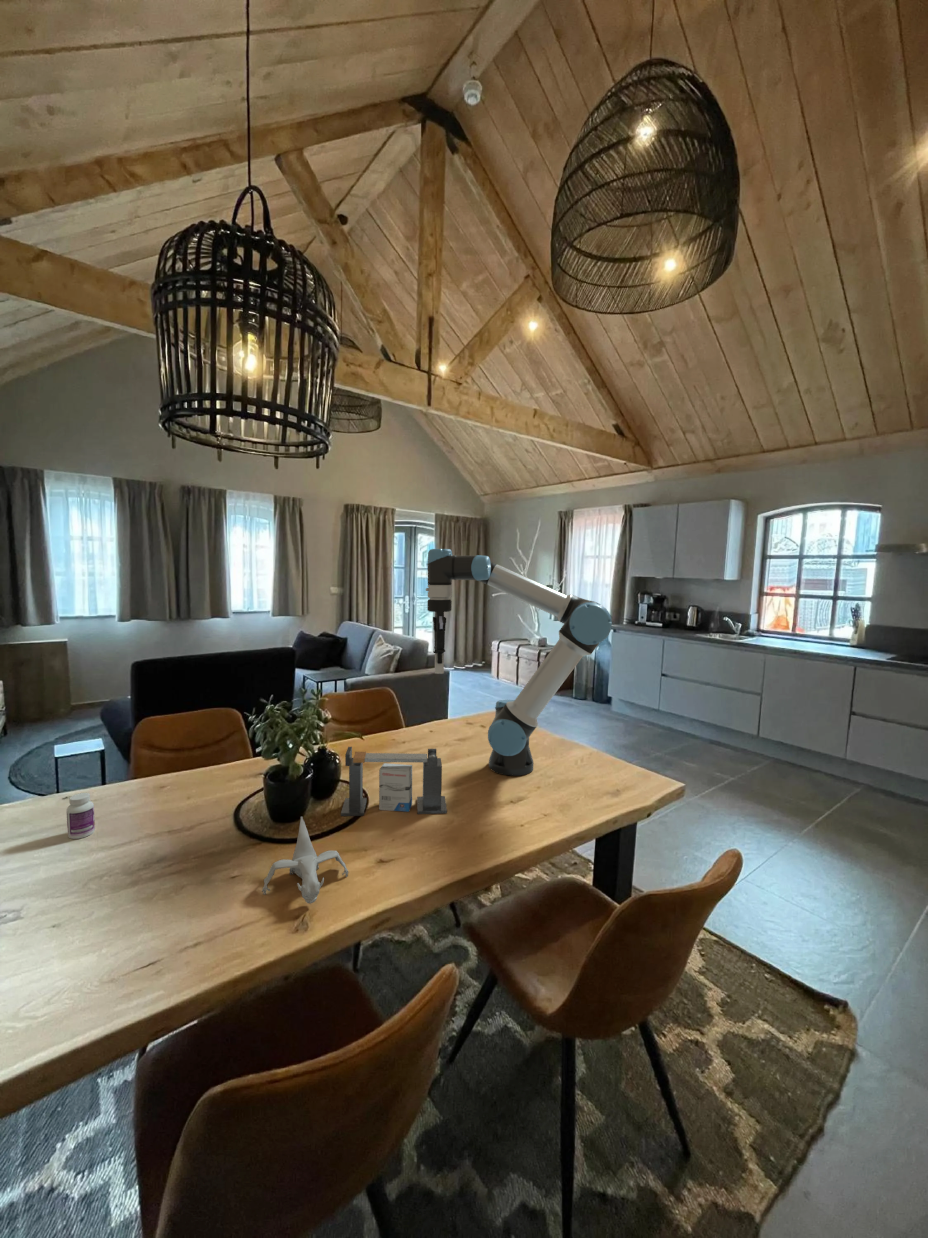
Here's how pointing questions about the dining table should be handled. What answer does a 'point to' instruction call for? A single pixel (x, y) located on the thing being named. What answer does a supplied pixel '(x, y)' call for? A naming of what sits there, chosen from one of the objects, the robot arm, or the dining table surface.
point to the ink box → (395, 787)
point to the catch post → (354, 788)
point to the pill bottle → (80, 816)
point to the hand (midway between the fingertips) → (439, 673)
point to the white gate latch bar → (389, 757)
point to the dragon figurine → (305, 865)
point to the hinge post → (432, 787)
